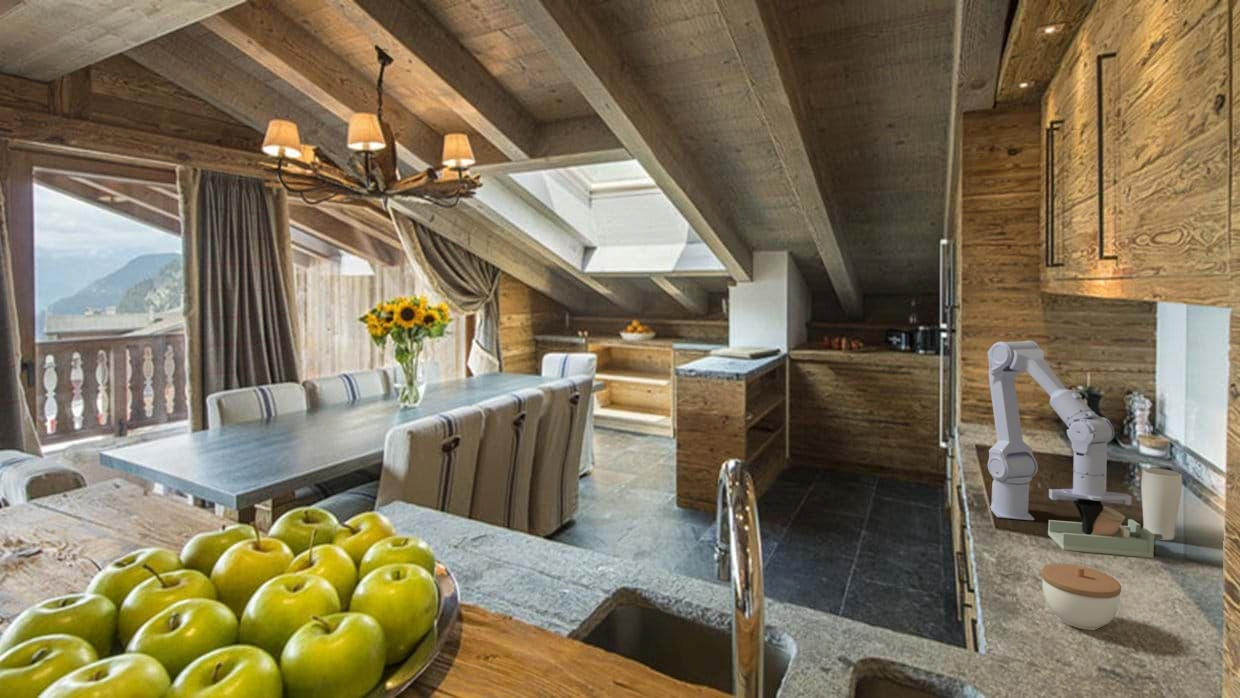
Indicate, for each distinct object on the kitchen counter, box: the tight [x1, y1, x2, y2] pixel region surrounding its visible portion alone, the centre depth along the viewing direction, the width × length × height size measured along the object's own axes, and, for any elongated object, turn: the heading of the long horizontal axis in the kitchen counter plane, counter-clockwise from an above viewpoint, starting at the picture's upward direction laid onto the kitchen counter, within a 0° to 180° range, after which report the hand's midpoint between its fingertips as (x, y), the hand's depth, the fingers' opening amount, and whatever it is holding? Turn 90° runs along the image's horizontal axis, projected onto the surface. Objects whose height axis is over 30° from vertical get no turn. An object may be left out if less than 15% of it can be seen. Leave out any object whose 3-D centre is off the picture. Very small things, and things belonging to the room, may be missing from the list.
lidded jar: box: [1040, 563, 1122, 630], centre depth 102 cm, size 11×11×9 cm
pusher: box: [1115, 524, 1162, 540], centre depth 129 cm, size 6×8×4 cm
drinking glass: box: [1140, 467, 1183, 541], centre depth 135 cm, size 7×7×15 cm
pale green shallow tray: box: [1047, 518, 1155, 559], centre depth 132 cm, size 9×16×5 cm, turn 72°
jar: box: [1083, 505, 1126, 537], centre depth 131 cm, size 5×5×7 cm
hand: (1088, 533), depth 132 cm, fingers closed, pressing on jar
